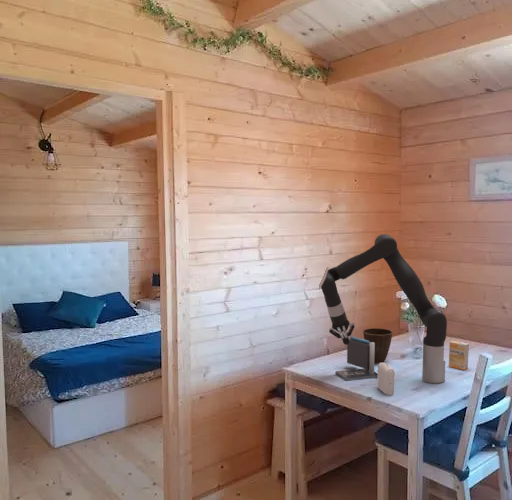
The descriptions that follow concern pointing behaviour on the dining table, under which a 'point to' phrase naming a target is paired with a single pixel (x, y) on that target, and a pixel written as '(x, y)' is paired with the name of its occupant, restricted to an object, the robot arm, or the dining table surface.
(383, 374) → the photo printer
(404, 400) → the dining table surface
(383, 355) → the plant pot
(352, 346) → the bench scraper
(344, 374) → the panel
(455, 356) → the supplement box
